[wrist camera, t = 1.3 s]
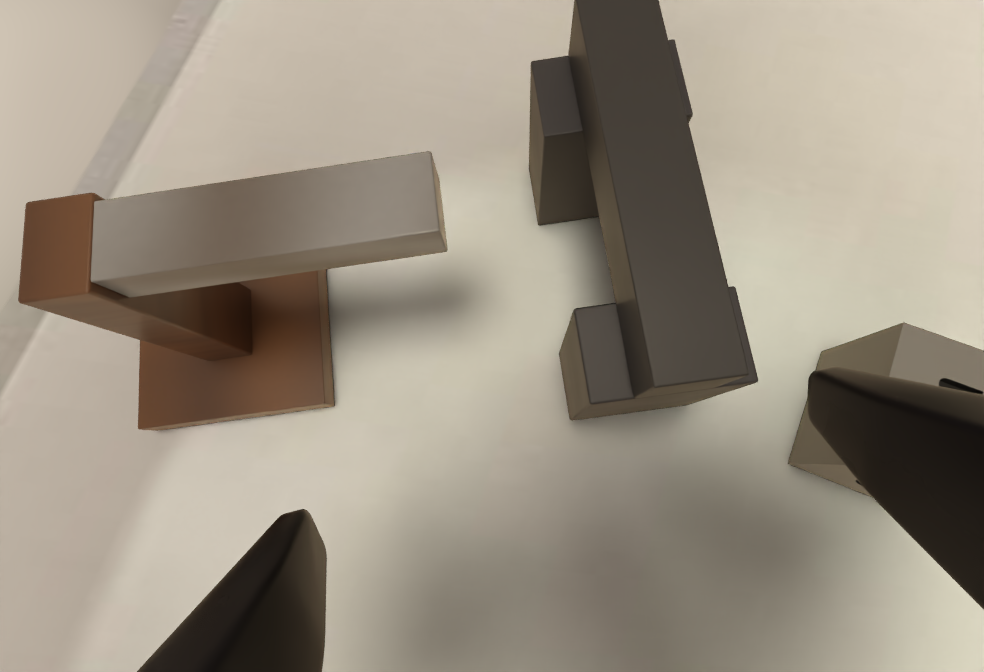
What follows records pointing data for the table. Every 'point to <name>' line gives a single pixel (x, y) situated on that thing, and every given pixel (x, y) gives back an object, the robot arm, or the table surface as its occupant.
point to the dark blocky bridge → (634, 217)
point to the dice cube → (894, 356)
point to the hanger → (228, 277)
